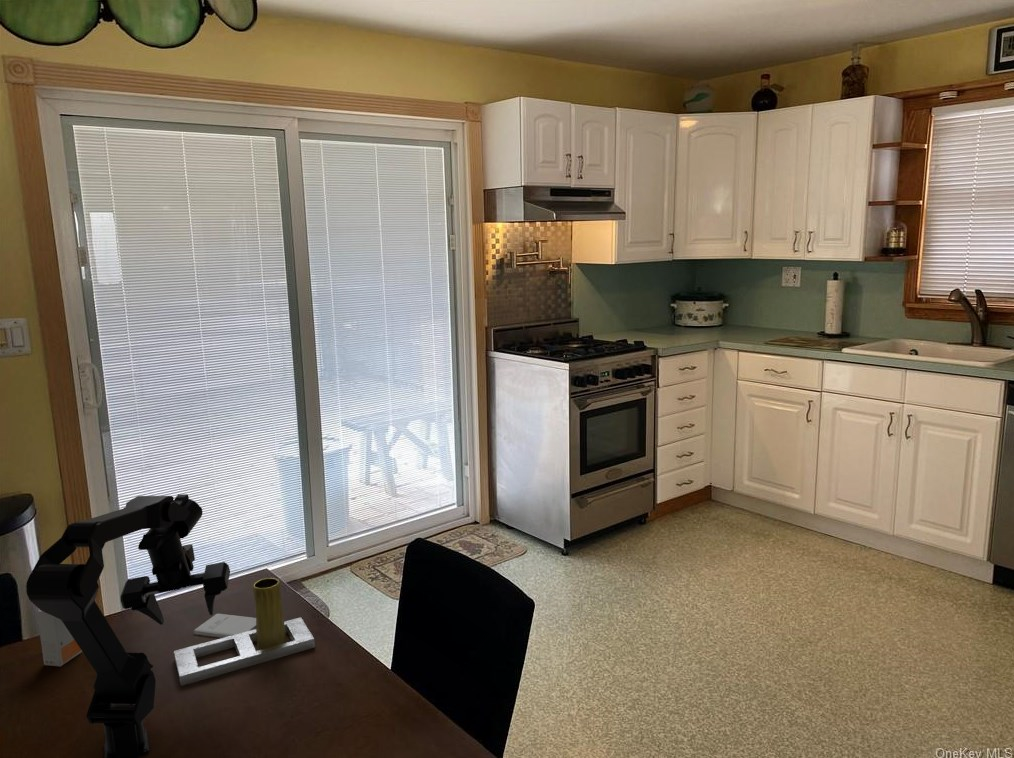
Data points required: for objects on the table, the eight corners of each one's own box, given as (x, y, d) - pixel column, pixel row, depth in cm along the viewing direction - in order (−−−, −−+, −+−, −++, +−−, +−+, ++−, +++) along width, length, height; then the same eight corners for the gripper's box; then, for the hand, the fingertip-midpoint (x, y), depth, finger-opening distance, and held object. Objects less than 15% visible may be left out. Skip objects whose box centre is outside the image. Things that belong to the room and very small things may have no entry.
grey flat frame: (314, 647, 154) (314, 638, 154) (180, 686, 142) (179, 676, 142) (301, 625, 164) (300, 617, 164) (174, 659, 151) (173, 650, 151)
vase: (252, 653, 153) (245, 589, 150) (264, 638, 159) (258, 576, 156) (280, 654, 152) (274, 589, 150) (291, 639, 158) (286, 576, 156)
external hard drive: (242, 643, 158) (194, 636, 162) (265, 624, 166) (218, 618, 170) (242, 636, 158) (193, 629, 162) (264, 618, 166) (217, 612, 169)
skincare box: (61, 667, 150) (53, 612, 148) (43, 665, 151) (35, 611, 149) (83, 651, 156) (76, 598, 154) (66, 650, 157) (59, 597, 155)
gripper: (224, 520, 146) (241, 582, 153) (124, 537, 143) (145, 600, 149) (217, 555, 136) (235, 619, 143) (109, 574, 133) (133, 639, 139)
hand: (187, 618), depth 144 cm, fingers open, 9 cm apart
